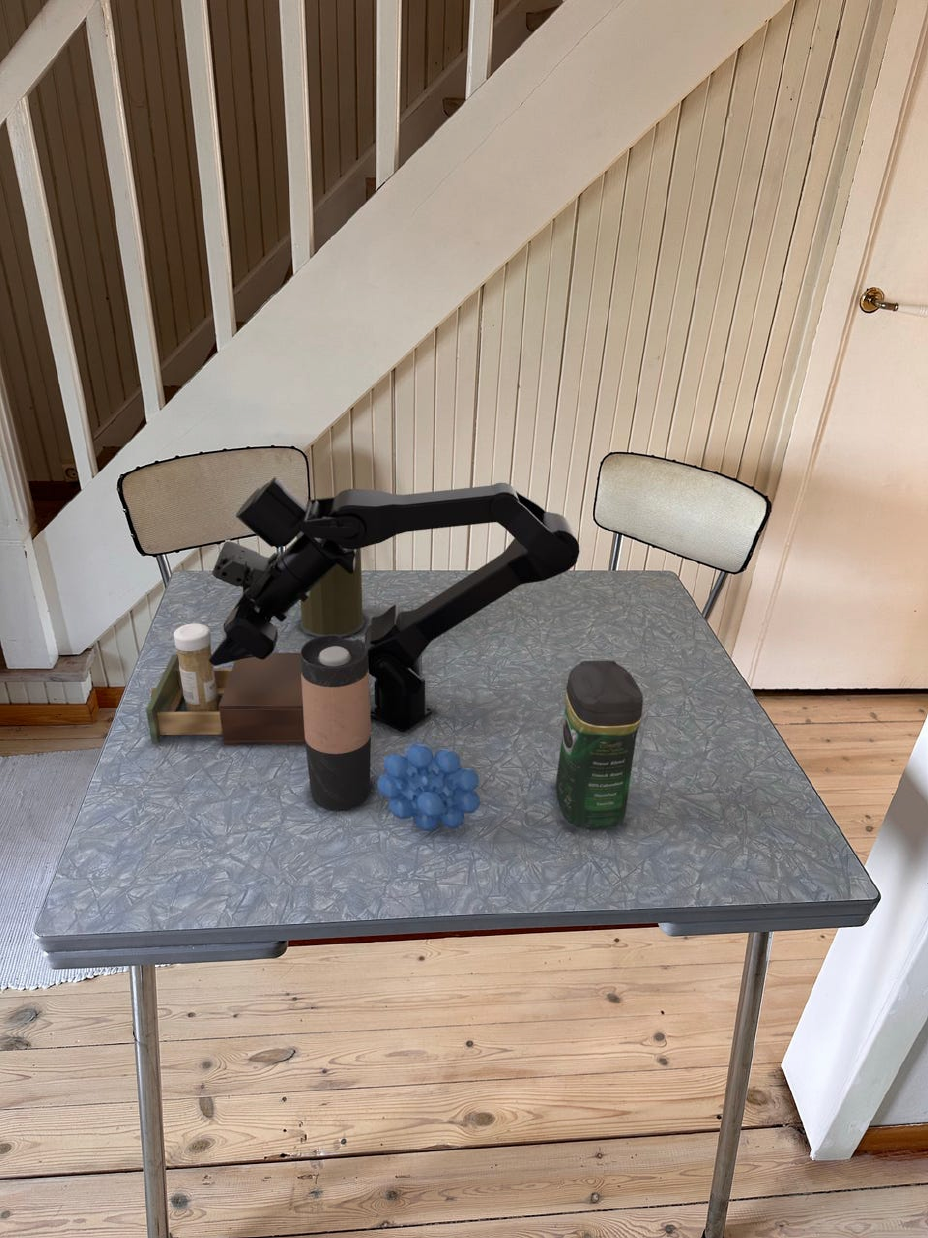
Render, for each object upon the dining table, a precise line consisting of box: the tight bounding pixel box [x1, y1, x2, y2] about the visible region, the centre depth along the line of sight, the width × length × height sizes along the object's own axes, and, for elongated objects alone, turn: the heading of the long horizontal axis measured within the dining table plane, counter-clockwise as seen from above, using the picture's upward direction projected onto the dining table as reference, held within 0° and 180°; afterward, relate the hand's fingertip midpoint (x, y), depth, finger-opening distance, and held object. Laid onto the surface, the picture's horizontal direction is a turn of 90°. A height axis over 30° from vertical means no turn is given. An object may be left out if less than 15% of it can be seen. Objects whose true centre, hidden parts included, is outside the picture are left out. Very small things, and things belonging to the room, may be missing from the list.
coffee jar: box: [555, 659, 644, 831], centre depth 97 cm, size 10×8×19 cm
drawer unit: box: [218, 652, 306, 746], centre depth 114 cm, size 12×13×6 cm
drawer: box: [145, 654, 232, 745], centre depth 114 cm, size 13×14×5 cm
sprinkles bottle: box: [173, 623, 220, 712], centre depth 112 cm, size 5×5×13 cm
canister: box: [295, 516, 365, 639], centre depth 135 cm, size 11×10×20 cm
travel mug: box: [299, 634, 372, 812], centre depth 98 cm, size 8×8×20 cm
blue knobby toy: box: [376, 743, 481, 832], centre depth 93 cm, size 12×7×12 cm, turn 93°
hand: (219, 644), depth 110 cm, fingers open, 9 cm apart
